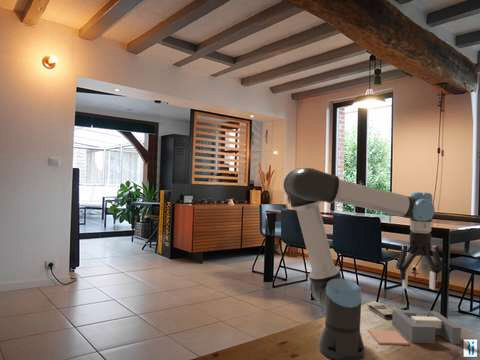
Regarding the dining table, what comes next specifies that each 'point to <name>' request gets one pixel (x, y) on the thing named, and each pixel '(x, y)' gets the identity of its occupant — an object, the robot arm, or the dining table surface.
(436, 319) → the cream bar
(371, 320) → the dining table surface
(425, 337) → the pocket plate
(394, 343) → the terracotta mat
